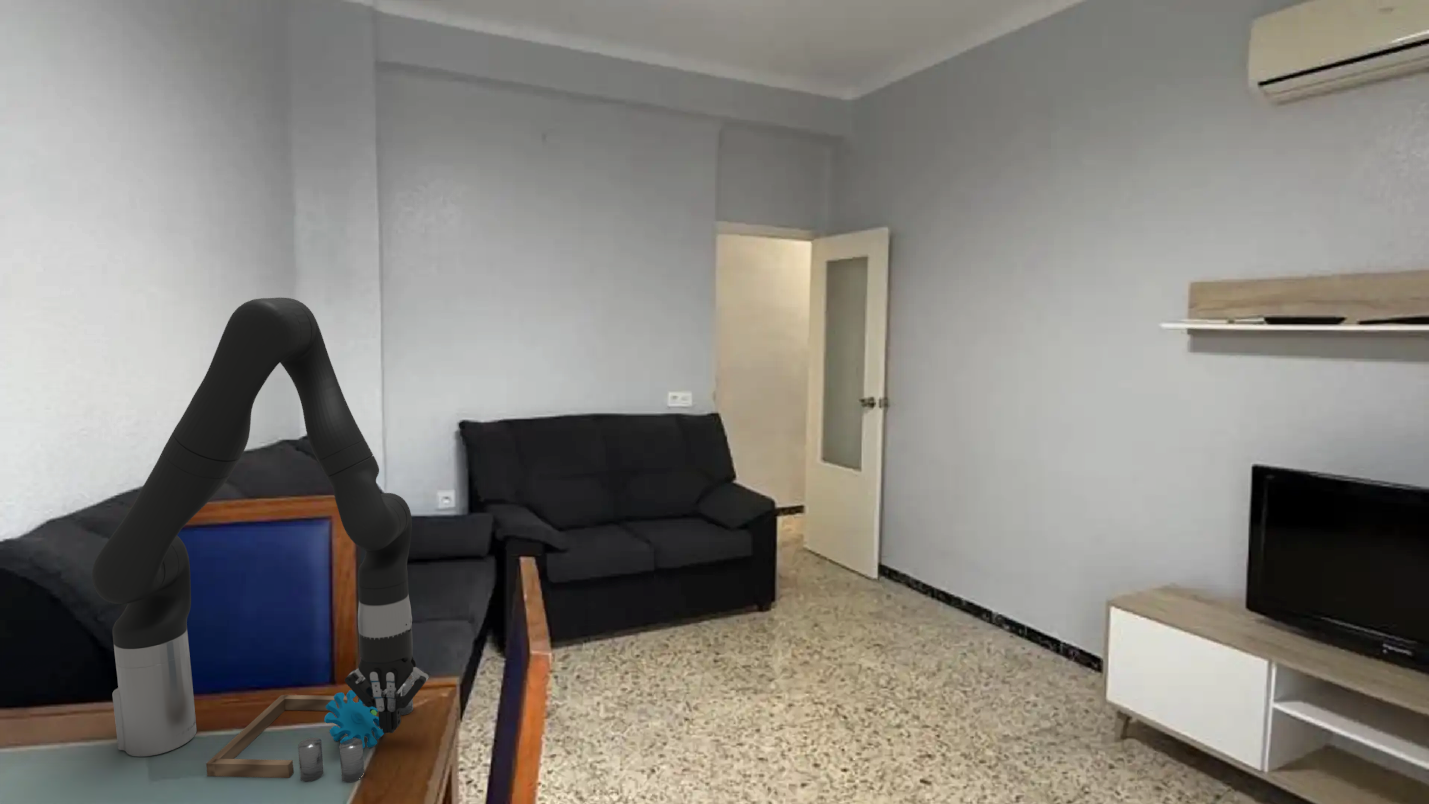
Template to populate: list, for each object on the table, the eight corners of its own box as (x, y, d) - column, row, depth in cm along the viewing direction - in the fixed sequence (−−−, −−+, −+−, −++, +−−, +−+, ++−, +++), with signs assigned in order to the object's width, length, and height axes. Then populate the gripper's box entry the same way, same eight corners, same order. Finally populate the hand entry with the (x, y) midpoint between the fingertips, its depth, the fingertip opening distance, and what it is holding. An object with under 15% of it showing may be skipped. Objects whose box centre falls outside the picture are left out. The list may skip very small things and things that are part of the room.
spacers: (296, 781, 114) (293, 749, 113) (363, 705, 135) (361, 677, 134) (358, 782, 114) (356, 750, 113) (416, 706, 134) (414, 678, 134)
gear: (354, 756, 117) (317, 701, 119) (330, 779, 119) (293, 724, 120) (403, 726, 128) (368, 676, 130) (380, 748, 129) (345, 698, 131)
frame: (207, 776, 115) (206, 763, 115) (282, 706, 134) (281, 694, 134) (289, 777, 115) (288, 765, 114) (352, 707, 134) (351, 696, 134)
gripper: (330, 634, 118) (336, 743, 120) (418, 636, 117) (423, 745, 120) (354, 614, 125) (359, 716, 128) (437, 615, 125) (441, 718, 127)
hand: (390, 730), depth 124 cm, fingers closed
